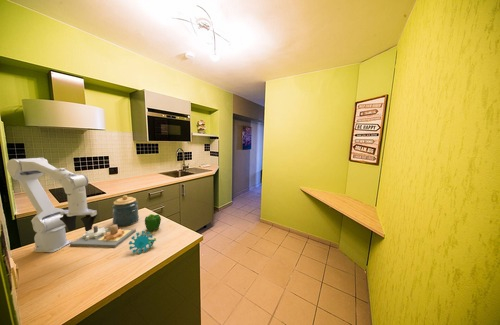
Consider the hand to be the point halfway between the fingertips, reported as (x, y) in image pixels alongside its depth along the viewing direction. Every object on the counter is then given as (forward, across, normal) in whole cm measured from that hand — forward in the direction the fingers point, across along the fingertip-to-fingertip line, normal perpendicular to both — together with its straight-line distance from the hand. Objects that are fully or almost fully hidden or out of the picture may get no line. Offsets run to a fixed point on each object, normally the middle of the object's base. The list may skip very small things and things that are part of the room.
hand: (80, 229), depth 73 cm
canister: (+11, 0, +27) cm, 29 cm away
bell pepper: (+11, +21, +20) cm, 31 cm away
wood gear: (+9, +6, +10) cm, 15 cm away
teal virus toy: (+11, +26, +3) cm, 29 cm away
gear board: (+10, +2, +10) cm, 15 cm away
